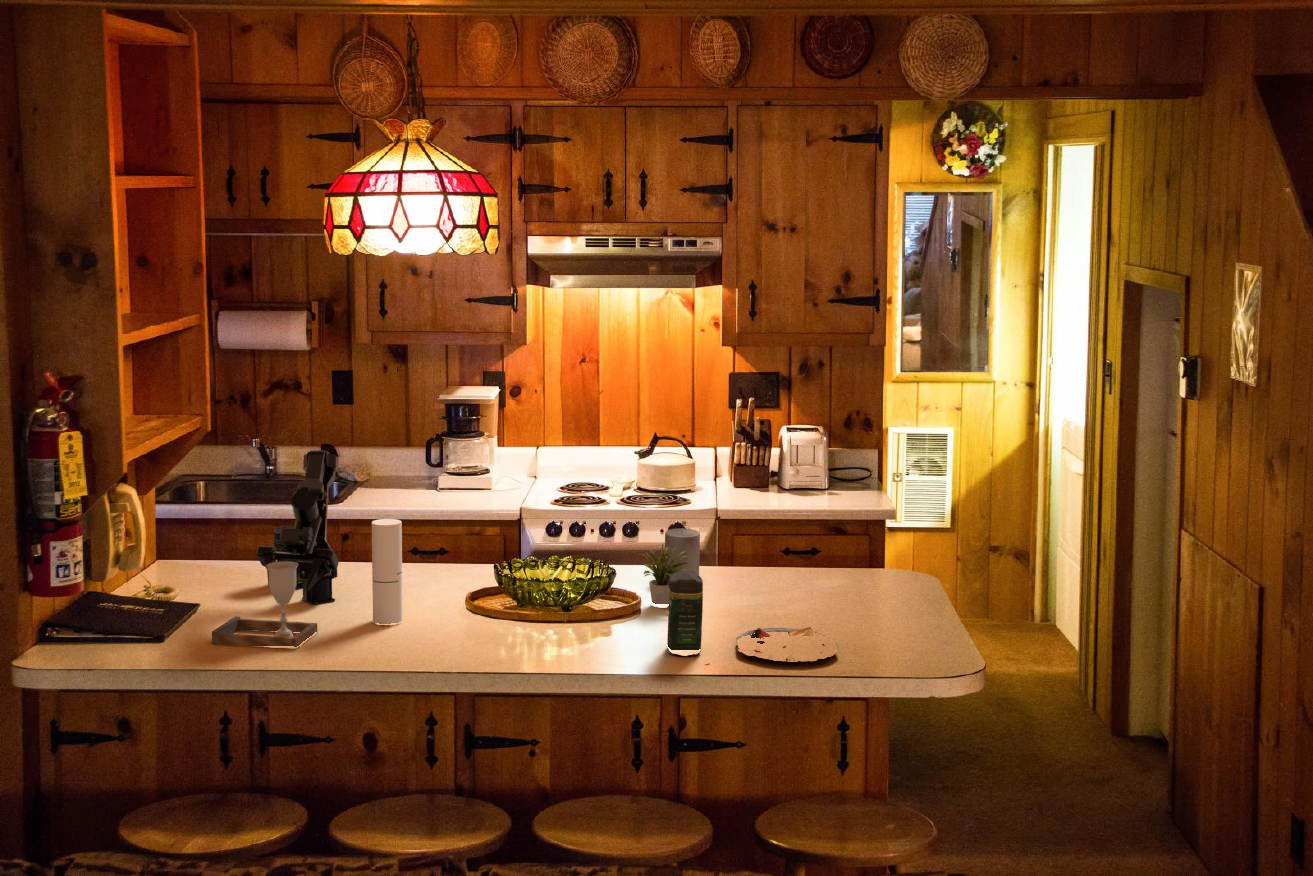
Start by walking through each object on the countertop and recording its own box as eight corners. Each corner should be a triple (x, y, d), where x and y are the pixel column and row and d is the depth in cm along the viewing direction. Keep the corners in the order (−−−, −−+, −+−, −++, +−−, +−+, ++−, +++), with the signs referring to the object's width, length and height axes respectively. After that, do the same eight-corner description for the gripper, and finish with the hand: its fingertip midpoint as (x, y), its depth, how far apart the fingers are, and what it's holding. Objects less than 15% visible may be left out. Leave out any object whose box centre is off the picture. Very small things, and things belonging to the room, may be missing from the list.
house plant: (657, 617, 365) (658, 554, 363) (621, 605, 375) (622, 544, 373) (698, 608, 374) (700, 546, 372) (663, 597, 385) (664, 536, 382)
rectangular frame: (317, 633, 347) (317, 621, 346) (296, 649, 334) (296, 637, 333) (235, 628, 349) (235, 616, 349) (212, 644, 337) (211, 631, 336)
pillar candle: (666, 575, 407) (667, 523, 405) (701, 577, 406) (702, 524, 403) (661, 584, 398) (662, 531, 395) (697, 586, 396) (698, 532, 394)
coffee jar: (702, 658, 334) (704, 579, 331) (668, 657, 333) (670, 578, 330) (699, 645, 343) (701, 568, 340) (666, 645, 343) (667, 568, 340)
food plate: (735, 633, 353) (735, 619, 352) (831, 637, 352) (832, 623, 351) (737, 669, 328) (738, 654, 327) (841, 673, 327) (842, 658, 327)
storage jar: (320, 584, 391) (319, 529, 389) (293, 591, 383) (292, 536, 380) (294, 578, 396) (293, 524, 394) (266, 585, 388) (265, 531, 386)
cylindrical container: (408, 620, 359) (407, 520, 355) (391, 627, 352) (390, 526, 349) (384, 616, 362) (383, 517, 358) (366, 623, 355) (365, 523, 351)
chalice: (271, 645, 336) (269, 569, 334) (264, 637, 342) (263, 563, 339) (303, 642, 340) (301, 566, 337) (296, 634, 346) (294, 560, 343)
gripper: (257, 512, 346) (239, 568, 337) (333, 515, 344) (317, 572, 335) (271, 537, 355) (254, 593, 346) (345, 541, 353) (330, 597, 343)
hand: (288, 588), depth 342 cm, fingers open, 9 cm apart
